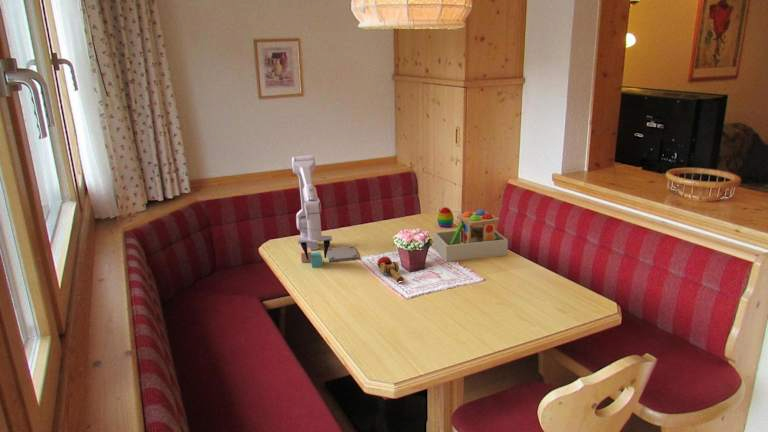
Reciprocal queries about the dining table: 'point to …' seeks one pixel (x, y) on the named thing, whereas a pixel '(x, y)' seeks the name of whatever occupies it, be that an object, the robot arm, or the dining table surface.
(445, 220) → the decorative egg
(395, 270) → the kendama
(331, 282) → the dining table surface
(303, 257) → the terracotta brick
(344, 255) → the baseplate
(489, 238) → the pounding bench toy
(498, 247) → the toy tray
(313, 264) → the teal brick
